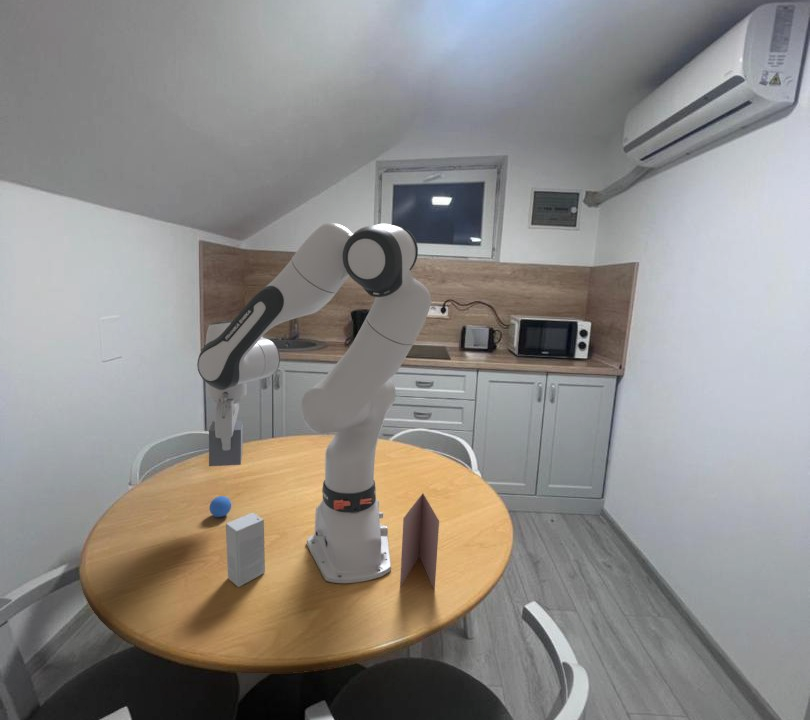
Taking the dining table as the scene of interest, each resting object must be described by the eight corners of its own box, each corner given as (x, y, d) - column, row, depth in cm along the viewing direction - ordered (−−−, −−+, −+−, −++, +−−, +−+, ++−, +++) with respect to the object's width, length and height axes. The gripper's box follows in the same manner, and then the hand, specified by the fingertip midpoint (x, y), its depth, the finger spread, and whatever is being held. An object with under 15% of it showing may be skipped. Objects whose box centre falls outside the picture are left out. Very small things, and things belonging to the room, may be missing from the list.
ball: (218, 498, 105) (203, 513, 104) (235, 509, 107) (220, 524, 106) (220, 488, 110) (206, 503, 109) (236, 499, 111) (222, 514, 111)
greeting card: (415, 554, 96) (419, 492, 94) (447, 563, 94) (452, 499, 91) (395, 586, 86) (399, 517, 83) (431, 597, 83) (436, 526, 81)
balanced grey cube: (240, 464, 104) (240, 429, 103) (208, 466, 102) (208, 430, 100) (242, 453, 111) (242, 420, 109) (212, 454, 108) (212, 421, 107)
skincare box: (253, 564, 91) (253, 511, 88) (265, 573, 88) (265, 519, 86) (226, 578, 86) (224, 523, 84) (237, 588, 83) (236, 531, 81)
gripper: (238, 398, 94) (239, 458, 97) (243, 378, 114) (244, 428, 116) (206, 399, 93) (208, 460, 95) (217, 379, 112) (219, 430, 114)
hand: (228, 442), depth 106 cm, fingers closed on balanced grey cube, 7 cm apart
